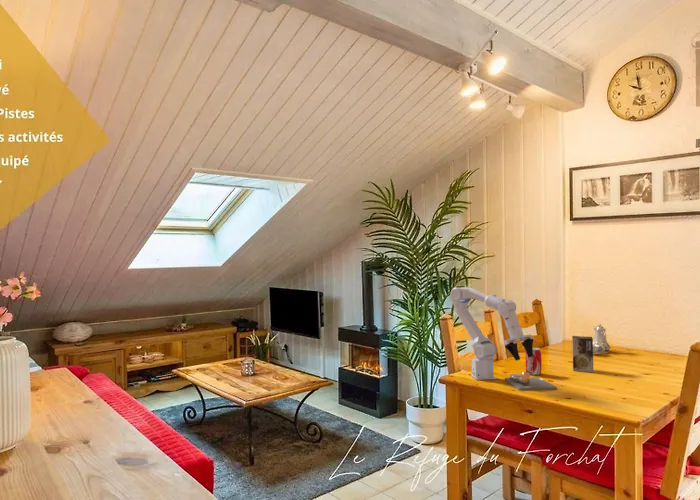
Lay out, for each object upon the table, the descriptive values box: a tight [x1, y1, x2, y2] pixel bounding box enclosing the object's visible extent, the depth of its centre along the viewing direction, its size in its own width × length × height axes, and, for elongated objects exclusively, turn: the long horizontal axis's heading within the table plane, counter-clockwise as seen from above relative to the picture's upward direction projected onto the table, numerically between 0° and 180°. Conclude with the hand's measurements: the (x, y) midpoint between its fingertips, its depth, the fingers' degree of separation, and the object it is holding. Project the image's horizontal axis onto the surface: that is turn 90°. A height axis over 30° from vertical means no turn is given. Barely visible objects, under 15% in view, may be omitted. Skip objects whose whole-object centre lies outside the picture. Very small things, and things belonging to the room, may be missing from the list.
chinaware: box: [592, 323, 611, 356], centre depth 278 cm, size 28×17×17 cm, turn 172°
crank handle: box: [509, 371, 530, 384], centre depth 209 cm, size 6×14×4 cm, turn 4°
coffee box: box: [571, 335, 594, 373], centre depth 234 cm, size 9×6×16 cm
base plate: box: [504, 376, 558, 391], centre depth 209 cm, size 16×16×2 cm
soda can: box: [525, 346, 543, 376], centre depth 227 cm, size 7×7×12 cm
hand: (524, 358), depth 205 cm, fingers open, 7 cm apart
